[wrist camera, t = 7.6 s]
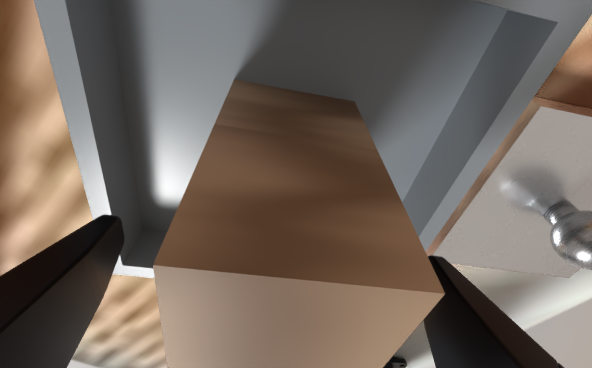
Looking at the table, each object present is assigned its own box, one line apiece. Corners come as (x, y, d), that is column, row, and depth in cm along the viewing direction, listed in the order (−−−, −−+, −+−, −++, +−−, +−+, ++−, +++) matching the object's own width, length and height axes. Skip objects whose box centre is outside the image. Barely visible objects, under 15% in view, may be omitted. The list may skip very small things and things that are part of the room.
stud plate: (552, 259, 21) (613, 329, 17) (419, 241, 19) (453, 313, 15) (693, 131, 15) (838, 192, 11) (518, 93, 14) (612, 148, 10)
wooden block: (354, 101, 13) (445, 293, 5) (323, 196, 16) (355, 399, 8) (234, 79, 12) (153, 265, 5) (226, 182, 15) (170, 391, 8)
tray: (376, 253, 20) (390, 301, 17) (135, 224, 18) (107, 273, 15) (523, -13, 11) (603, -4, 8) (80, -136, 9) (-15, -179, 6)
